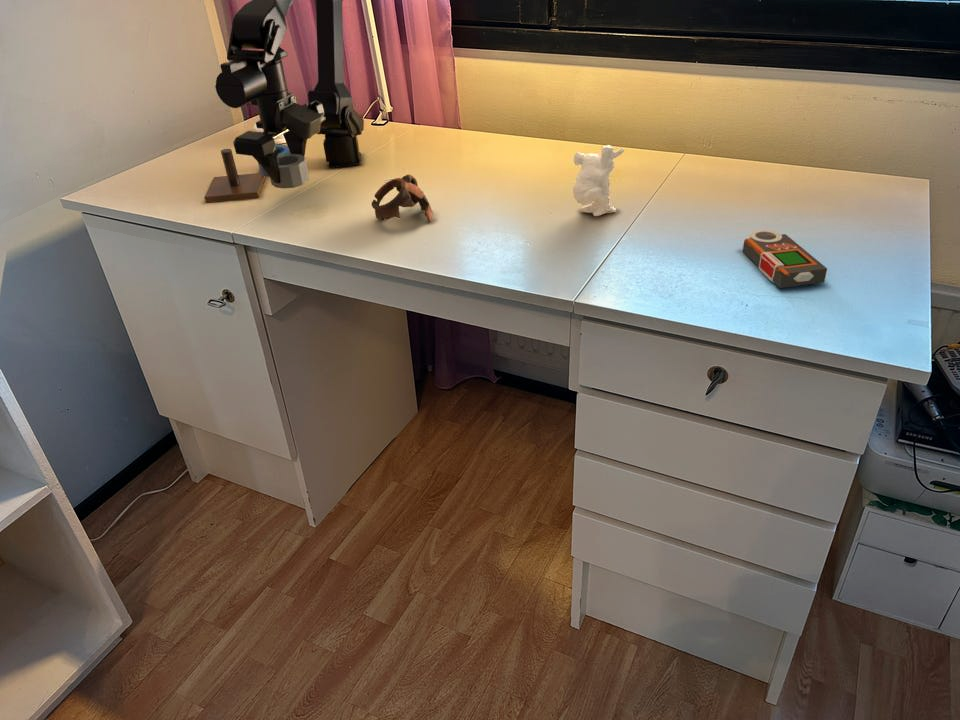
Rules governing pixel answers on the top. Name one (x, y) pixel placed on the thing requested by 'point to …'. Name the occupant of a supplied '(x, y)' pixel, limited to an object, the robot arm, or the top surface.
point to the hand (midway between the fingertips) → (289, 175)
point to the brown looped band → (401, 198)
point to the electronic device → (783, 259)
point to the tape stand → (234, 183)
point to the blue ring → (283, 151)
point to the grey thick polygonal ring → (291, 171)
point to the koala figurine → (595, 180)
